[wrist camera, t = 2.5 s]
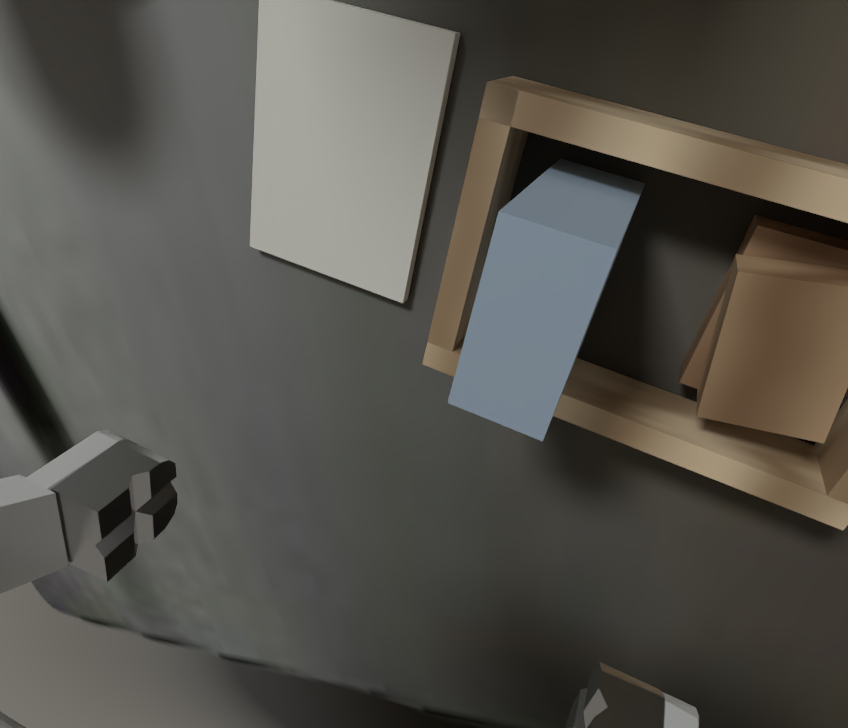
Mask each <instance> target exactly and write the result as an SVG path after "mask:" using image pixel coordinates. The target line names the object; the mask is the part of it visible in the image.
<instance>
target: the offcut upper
mask: <svg viewBox="0 0 848 728" xmlns="http://www.w3.org/2000/svg"><path fill="white" fill-rule="evenodd" d="M847 388H848V269H847V268H839V267H831V266H824V265H816V264H808V263H801V262H793V261H785V260H778V259H770V258H762V257H754V256H747V255H739V254H736V255H735V259H734V262H733V266H732V269H731V273H730V277H729V280H728V284H727V287H726V291H725V294H724V298H723V301H722V305H721V309H720V312H719V316H718V319H717V323H716V326H715V330H714V333H713V337H712V341H711V344H710V348H709V351H708V355H707V358H706V362H705V366H704V369H703V373H702V376H701V380H700V383H699V387H698V390H697V413H696V416H697V417H701V418H706V419H711V420H716V421H720V422H725V423H730V424H734V425H739V426H744V427H748V428H753V429H758V430H762V431H767V432H772V433H777V434H781V435H786V436H791V437H795V438H800V439H805V440H809V441H814V442H819V443H825V440H826V438H827V435H828V433H829V431H830V428H831V426H832V424H833V421H834V419H835V417H836V414H837V412H838V409H839V407H840V405H841V402H842V400H843V398H844V395H845V393H846V391H847Z"/></svg>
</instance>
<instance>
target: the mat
mask: <svg viewBox="0 0 848 728" xmlns="http://www.w3.org/2000/svg"><path fill="white" fill-rule="evenodd" d="M460 34H461V33H459V32H455V31H451V30H448V29H444V28H440V27H436V26H432V25H428V24H424V23H420V22H416V21H412V20H408V19H404V18H400V17H396V16H392V15H388V14H385V13H381V12H377V11H373V10H369V9H365V8H361V7H357V6H353V5H349V4H345V3H341V2H337V1H333V0H259V17H258V44H257V70H256V96H255V123H254V149H253V175H252V202H251V228H250V247H253V248H255V249H258V250H261V251H263V252H266V253H269V254H272V255H274V256H277V257H280V258H282V259H285V260H288V261H290V262H293V263H296V264H298V265H301V266H304V267H306V268H309V269H312V270H314V271H317V272H320V273H322V274H325V275H328V276H330V277H333V278H336V279H338V280H341V281H344V282H347V283H349V284H352V285H355V286H357V287H360V288H363V289H365V290H368V291H371V292H373V293H376V294H379V295H381V296H384V297H387V298H389V299H392V300H395V301H397V302H400V303H404V302H405V301H406V300H407V299H408V295H409V290H410V285H411V280H412V275H413V270H414V265H415V260H416V255H417V250H418V245H419V240H420V235H421V230H422V225H423V220H424V215H425V210H426V205H427V200H428V195H429V190H430V185H431V180H432V175H433V170H434V165H435V160H436V154H437V149H438V144H439V139H440V134H441V129H442V124H443V119H444V114H445V109H446V104H447V99H448V94H449V89H450V84H451V79H452V74H453V69H454V64H455V59H456V54H457V49H458V44H459V39H460Z"/></svg>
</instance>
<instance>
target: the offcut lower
mask: <svg viewBox="0 0 848 728" xmlns="http://www.w3.org/2000/svg"><path fill="white" fill-rule="evenodd" d="M736 254H739V255H747V256H754V257H762V258H770V259H778V260H785V261H793V262H801V263H808V264H816V265H824V266H831V267H839V268H847V269H848V241H847V240H843V239H840V238H836V237H833V236H829V235H826V234H822V233H818V232H815V231H811V230H808V229H804V228H800V227H797V226H793V225H790V224H786V223H782V222H779V221H775V220H772V219H768V218H765V217H761V216H757V215H755V216H754V218H753V220H752V222H751V224H750V226H749V228H748V230H747V233H746V235H745V237H744V239H743V241H742V243H741V245H740V247H739V249H738V251H737V253H736ZM734 259H735V257H734ZM734 259H733V261H732V263H731V265H730V267H729V269H728V271H727V273H726V275H725V278H724V280H723V282H722V284H721V286H720V288H719V290H718V292H717V294H716V296H715V298H714V300H713V302H712V304H711V306H710V308H709V310H708V312H707V314H706V316H705V318H704V320H703V323H702V325H701V327H700V329H699V331H698V333H697V335H696V337H695V339H694V341H693V343H692V345H691V347H690V349H689V351H688V353H687V355H686V357H685V359H684V361H683V363H682V366H681V370H680V381H679V383H682V384H685V385H688V386H690V387H693V388H696V389H698V387H699V383H700V380H701V376H702V373H703V369H704V366H705V362H706V358H707V355H708V351H709V348H710V344H711V341H712V337H713V333H714V330H715V326H716V323H717V319H718V316H719V312H720V309H721V305H722V301H723V298H724V294H725V291H726V287H727V284H728V280H729V277H730V273H731V269H732V266H733V262H734Z"/></svg>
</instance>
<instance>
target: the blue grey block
mask: <svg viewBox="0 0 848 728" xmlns="http://www.w3.org/2000/svg"><path fill="white" fill-rule="evenodd" d="M644 185H645V183H642V182H639V181H635V180H632V179H629V178H625V177H622V176H618V175H615V174H612V173H608V172H605V171H601V170H598V169H594V168H591V167H588V166H584V165H581V164H577V163H574V162H571V161H567V160H564V159H559V160H558V161H557V162H556V163H555V164H553V165H552V166H551V167H550V168H549V169H548V170H546V171H545V172H544V173H543V174H542V175H541V176H539V177H538V178H537V179H536V180H535V181H534V182H532V183H531V184H530V185H529V186H528V187H526V188H525V189H524V190H523V191H522V192H521V193H519V194H518V195H517V196H516V197H515V198H514V199H512V200H511V201H510V202H509V203H508V204H507V205H505V206H504V207H503V208H502V209H501V210H500V211H499V212H498V216H497V219H496V223H495V227H494V231H493V234H492V238H491V242H490V246H489V249H488V253H487V257H486V261H485V264H484V268H483V272H482V276H481V279H480V283H479V287H478V291H477V294H476V298H475V302H474V306H473V309H472V313H471V317H470V321H469V324H468V328H467V332H466V336H465V339H464V343H463V347H462V351H461V354H460V358H459V362H458V366H457V369H456V373H455V377H454V381H453V384H452V388H451V392H450V395H449V399H448V403H449V404H452V405H454V406H457V407H459V408H462V409H464V410H467V411H469V412H471V413H474V414H476V415H479V416H481V417H484V418H486V419H489V420H491V421H494V422H496V423H498V424H501V425H503V426H506V427H508V428H511V429H513V430H516V431H518V432H521V433H523V434H525V435H528V436H530V437H533V438H535V439H538V440H540V441H543V439H544V437H545V434H546V432H547V429H548V427H549V424H550V422H551V420H552V417H553V415H554V412H555V410H556V407H557V405H558V402H559V400H560V397H561V395H562V392H563V390H564V387H565V385H566V383H567V380H568V378H569V375H570V373H571V370H572V368H573V365H574V363H575V360H576V358H577V355H578V353H579V350H580V348H581V345H582V343H583V341H584V338H585V336H586V333H587V331H588V328H589V325H590V323H591V320H592V318H593V315H594V313H595V310H596V308H597V305H598V302H599V300H600V297H601V295H602V292H603V290H604V287H605V285H606V282H607V280H608V277H609V274H610V272H611V269H612V267H613V264H614V262H615V259H616V257H617V254H618V251H619V249H620V246H621V244H622V241H623V239H624V236H625V234H626V231H627V229H628V226H629V223H630V221H631V218H632V216H633V213H634V211H635V208H636V206H637V203H638V200H639V198H640V195H641V193H642V190H643V188H644Z"/></svg>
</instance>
